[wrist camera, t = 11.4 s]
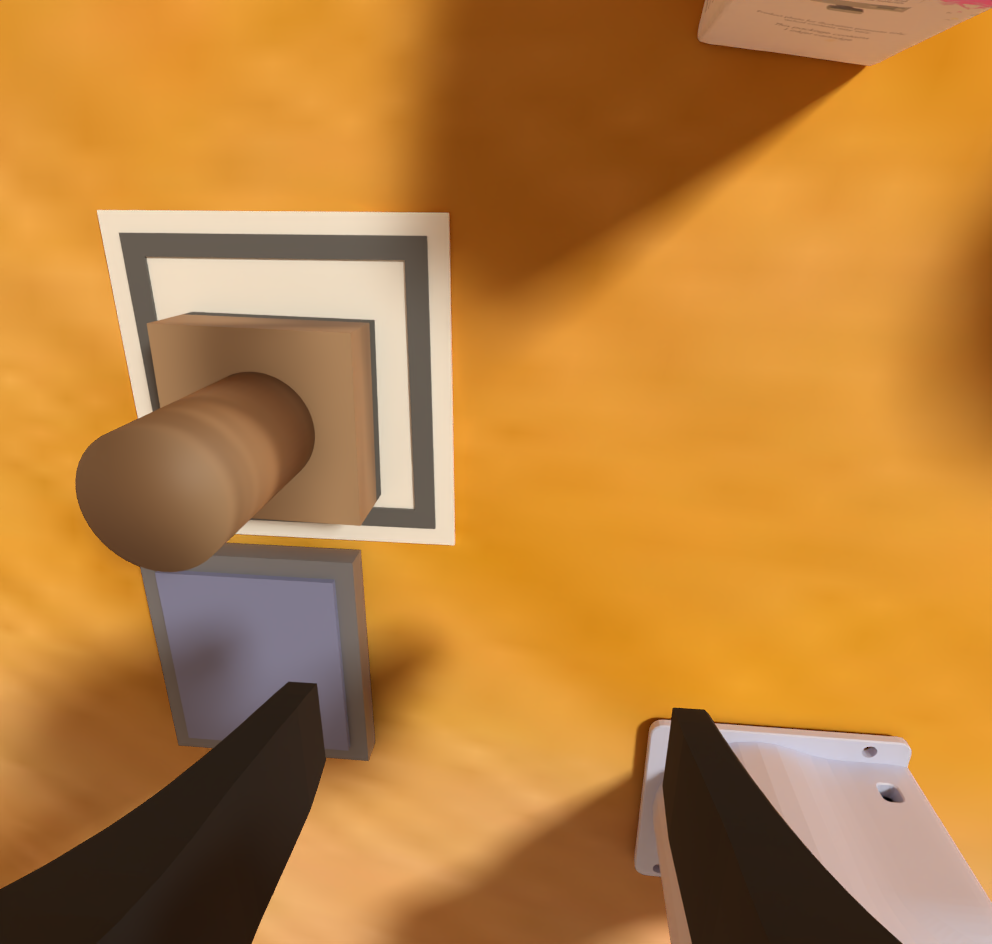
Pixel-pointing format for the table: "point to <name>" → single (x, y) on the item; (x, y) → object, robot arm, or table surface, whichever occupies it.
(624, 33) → the table surface
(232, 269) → the print sheet
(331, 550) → the ink pad
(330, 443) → the stamp
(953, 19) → the ink cartridge box
